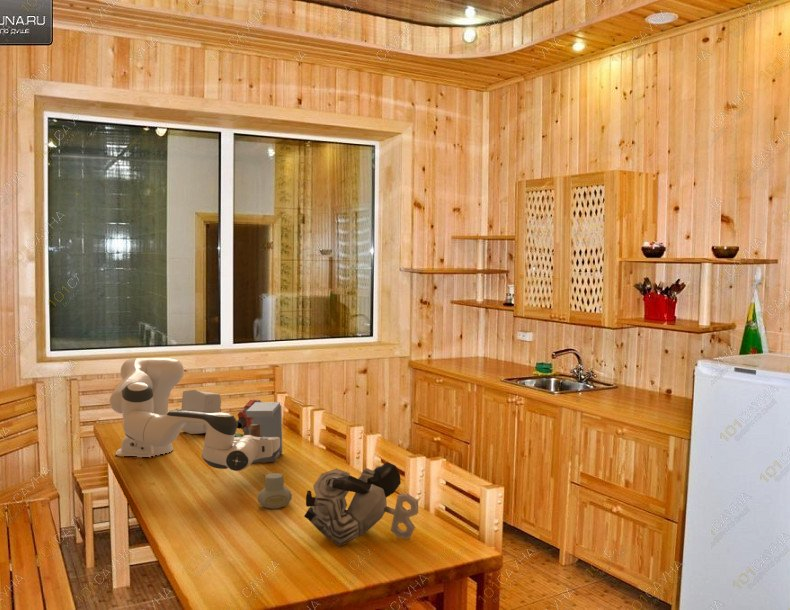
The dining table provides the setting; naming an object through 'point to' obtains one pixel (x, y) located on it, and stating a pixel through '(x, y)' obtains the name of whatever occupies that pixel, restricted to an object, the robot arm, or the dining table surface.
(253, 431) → the peg
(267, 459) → the socket
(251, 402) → the toy gun
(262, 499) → the air freshener
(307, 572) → the dining table surface
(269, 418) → the gray cantilever bracket
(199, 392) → the electrical switch box
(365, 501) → the toy
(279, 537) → the dining table surface
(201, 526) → the dining table surface
